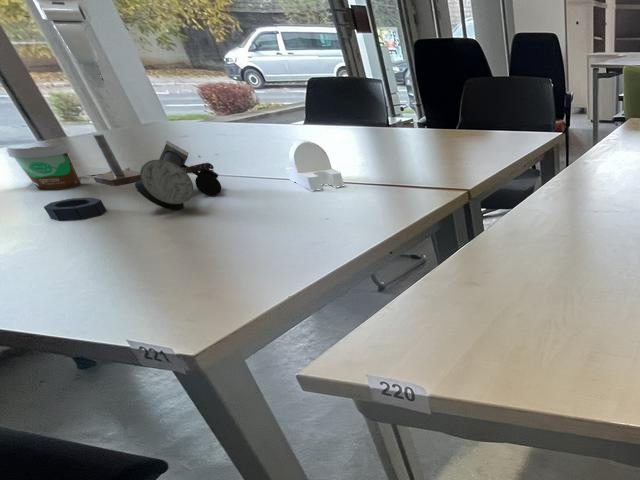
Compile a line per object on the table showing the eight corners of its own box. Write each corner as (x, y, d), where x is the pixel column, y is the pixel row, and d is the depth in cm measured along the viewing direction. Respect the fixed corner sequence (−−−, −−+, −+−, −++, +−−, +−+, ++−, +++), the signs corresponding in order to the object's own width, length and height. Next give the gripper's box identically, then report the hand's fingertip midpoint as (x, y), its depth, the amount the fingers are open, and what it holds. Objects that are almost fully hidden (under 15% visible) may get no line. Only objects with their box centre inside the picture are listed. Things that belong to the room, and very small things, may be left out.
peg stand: (114, 185, 143) (88, 138, 135) (95, 182, 145) (69, 135, 138) (148, 179, 149) (125, 134, 141) (129, 175, 152) (106, 131, 144)
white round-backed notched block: (312, 191, 142) (298, 148, 135) (289, 179, 152) (274, 138, 145) (345, 186, 148) (334, 144, 141) (321, 175, 157) (309, 135, 150)
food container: (29, 193, 135) (2, 150, 128) (30, 188, 138) (3, 146, 132) (88, 187, 141) (64, 145, 135) (87, 182, 145) (64, 142, 138)
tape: (67, 222, 117) (60, 211, 116) (43, 216, 120) (36, 205, 119) (114, 212, 124) (108, 201, 123) (90, 206, 127) (84, 195, 126)
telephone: (207, 237, 128) (209, 204, 147) (228, 193, 125) (227, 165, 144) (128, 199, 117) (141, 169, 136) (149, 150, 114) (159, 126, 133)
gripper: (48, 9, 119) (86, 81, 128) (41, 9, 107) (83, 89, 116) (83, 10, 122) (117, 81, 131) (79, 10, 110) (117, 88, 119)
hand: (101, 85), depth 123 cm, fingers open, 8 cm apart
